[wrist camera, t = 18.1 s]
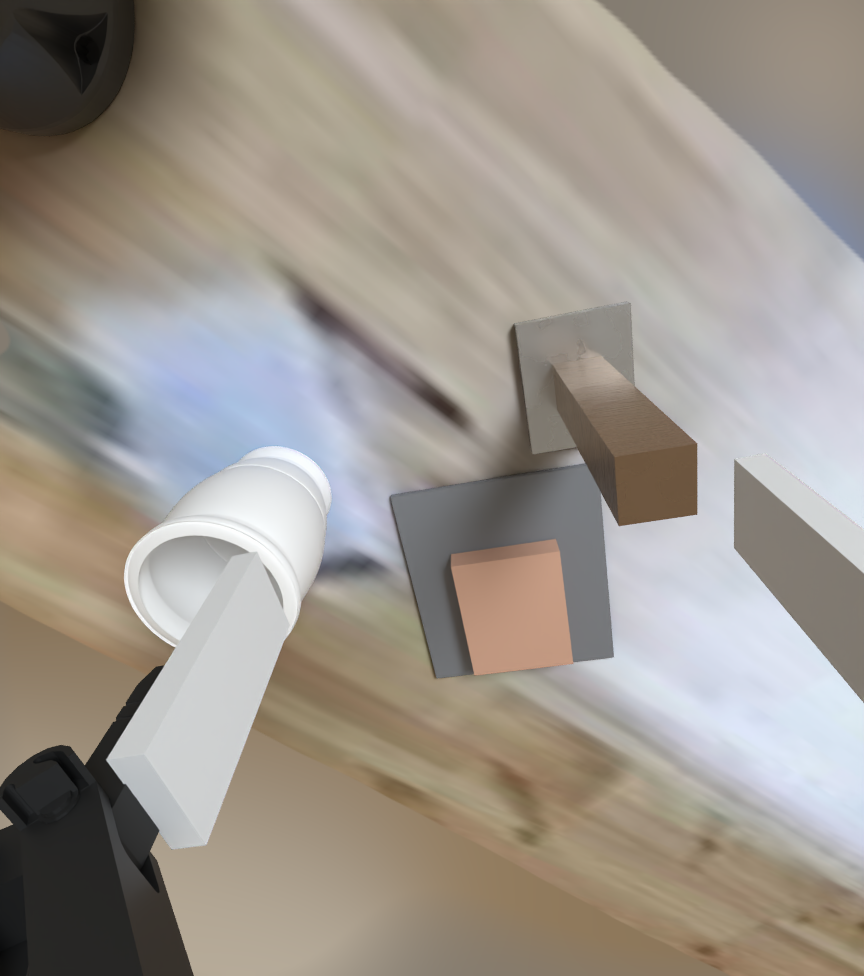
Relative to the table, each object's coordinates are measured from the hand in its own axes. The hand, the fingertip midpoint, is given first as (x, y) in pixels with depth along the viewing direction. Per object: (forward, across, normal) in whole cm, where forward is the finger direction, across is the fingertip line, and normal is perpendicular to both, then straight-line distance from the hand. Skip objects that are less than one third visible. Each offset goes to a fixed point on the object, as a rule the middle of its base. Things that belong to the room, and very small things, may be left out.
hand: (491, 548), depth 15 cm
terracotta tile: (+26, 0, -18) cm, 32 cm away
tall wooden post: (+28, +8, -5) cm, 30 cm away
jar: (+29, -18, -9) cm, 35 cm away
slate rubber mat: (+28, -1, -22) cm, 35 cm away
